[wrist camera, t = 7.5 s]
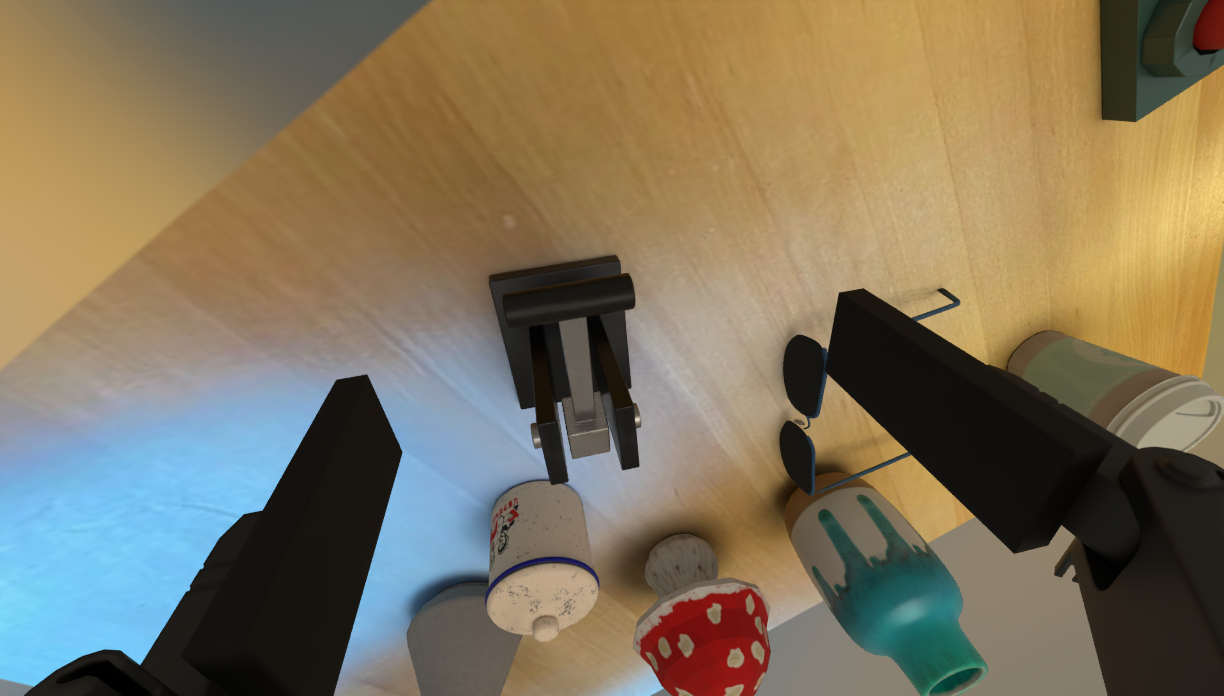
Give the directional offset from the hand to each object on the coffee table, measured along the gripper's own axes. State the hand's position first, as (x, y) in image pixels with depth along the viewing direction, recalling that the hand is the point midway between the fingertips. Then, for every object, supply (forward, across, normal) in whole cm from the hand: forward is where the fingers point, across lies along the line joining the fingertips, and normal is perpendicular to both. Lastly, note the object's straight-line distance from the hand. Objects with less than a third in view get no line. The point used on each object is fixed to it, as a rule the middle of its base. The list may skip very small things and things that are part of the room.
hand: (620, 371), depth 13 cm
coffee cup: (+21, +45, -22) cm, 54 cm away
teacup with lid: (+20, -7, -30) cm, 37 cm away
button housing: (+21, +42, +6) cm, 47 cm away
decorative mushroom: (+20, +7, -40) cm, 45 cm away
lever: (+9, -1, -5) cm, 10 cm away
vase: (+20, +23, -35) cm, 46 cm away
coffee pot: (+20, -14, -45) cm, 51 cm away
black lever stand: (+20, -1, -10) cm, 23 cm away
